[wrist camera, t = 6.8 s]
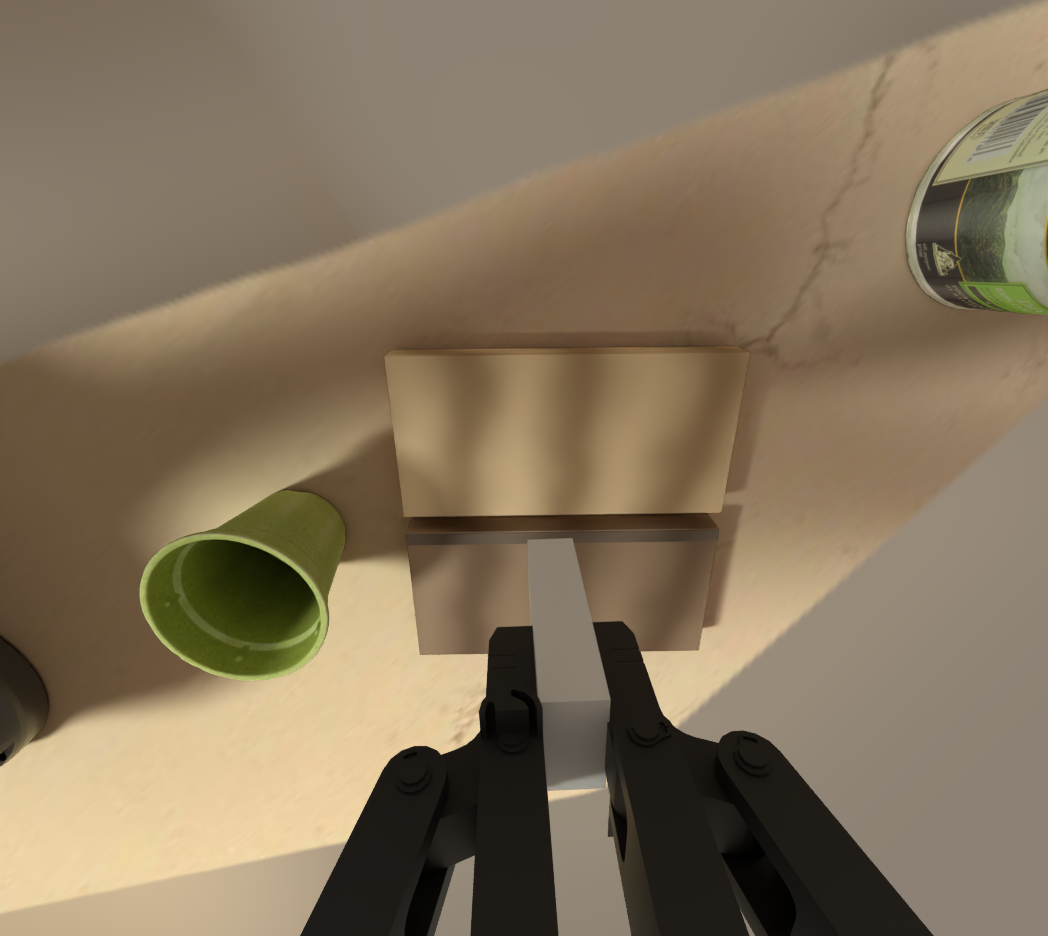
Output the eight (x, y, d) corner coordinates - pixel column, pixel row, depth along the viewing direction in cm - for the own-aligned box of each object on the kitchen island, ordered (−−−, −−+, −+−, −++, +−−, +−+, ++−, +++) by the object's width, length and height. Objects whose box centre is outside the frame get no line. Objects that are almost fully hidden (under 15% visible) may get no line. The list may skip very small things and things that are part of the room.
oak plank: (410, 501, 32) (404, 516, 31) (392, 349, 28) (383, 356, 26) (709, 497, 33) (721, 512, 31) (735, 346, 28) (750, 352, 27)
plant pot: (401, 537, 33) (364, 622, 25) (309, 608, 36) (248, 707, 28) (295, 437, 31) (217, 498, 23) (202, 521, 33) (100, 604, 25)
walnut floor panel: (424, 635, 37) (419, 655, 35) (412, 517, 33) (405, 533, 31) (689, 630, 37) (698, 650, 35) (707, 513, 33) (719, 528, 31)
